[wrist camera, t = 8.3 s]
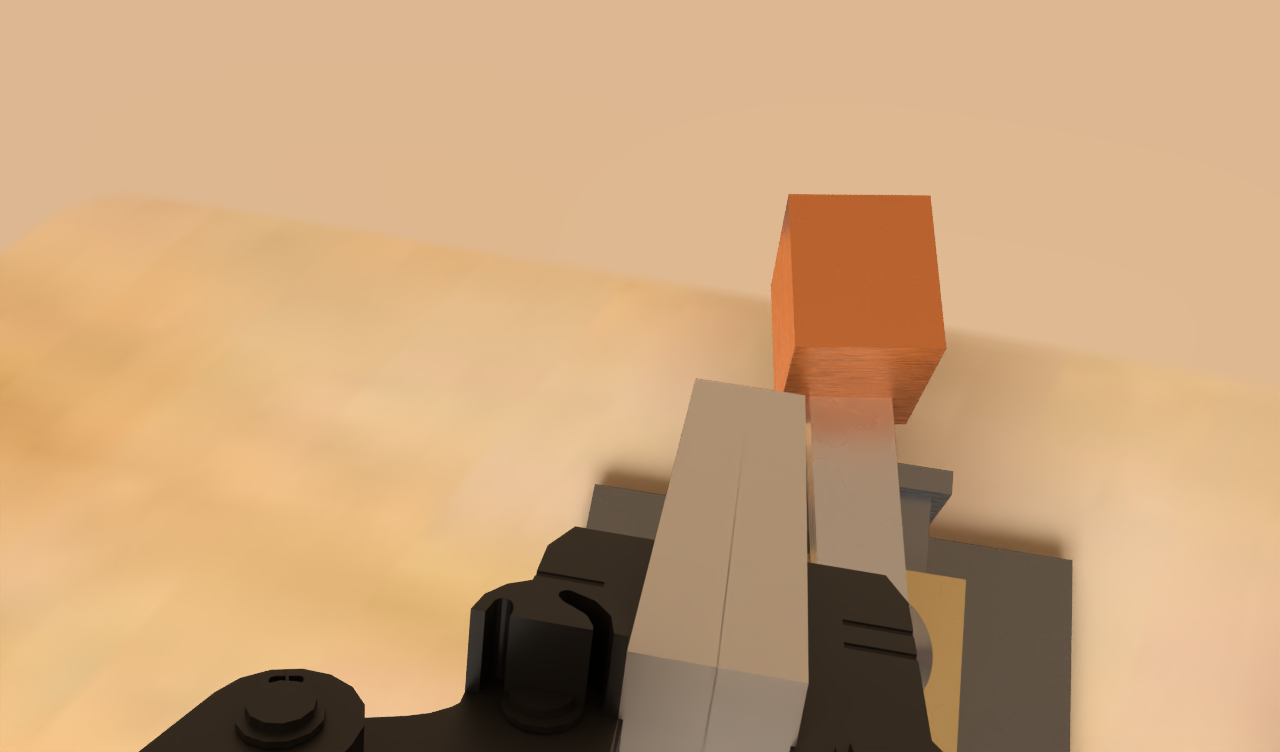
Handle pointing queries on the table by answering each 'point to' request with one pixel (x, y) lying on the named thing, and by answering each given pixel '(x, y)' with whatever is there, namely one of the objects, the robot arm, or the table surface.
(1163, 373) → the table surface
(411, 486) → the table surface
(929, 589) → the valve body
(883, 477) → the valve lever
